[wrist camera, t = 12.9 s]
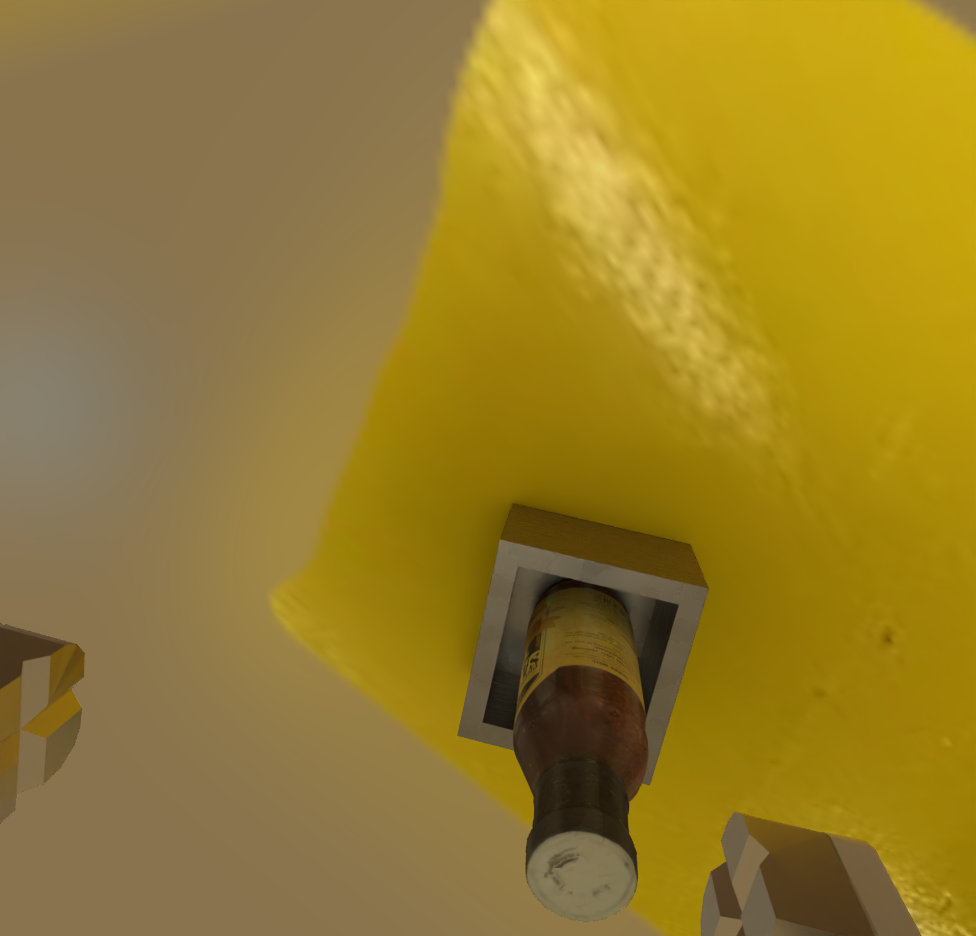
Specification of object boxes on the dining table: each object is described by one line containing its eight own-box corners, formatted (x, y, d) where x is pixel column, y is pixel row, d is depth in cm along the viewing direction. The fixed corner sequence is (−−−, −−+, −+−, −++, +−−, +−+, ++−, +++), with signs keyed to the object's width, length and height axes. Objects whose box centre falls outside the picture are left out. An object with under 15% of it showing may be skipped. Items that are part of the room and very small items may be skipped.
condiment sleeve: (690, 544, 44) (708, 588, 37) (640, 716, 47) (649, 785, 40) (512, 503, 45) (500, 539, 38) (475, 675, 48) (457, 735, 41)
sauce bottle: (523, 578, 45) (477, 791, 26) (626, 569, 44) (658, 783, 25) (537, 676, 46) (502, 945, 27) (637, 669, 45) (675, 944, 26)
